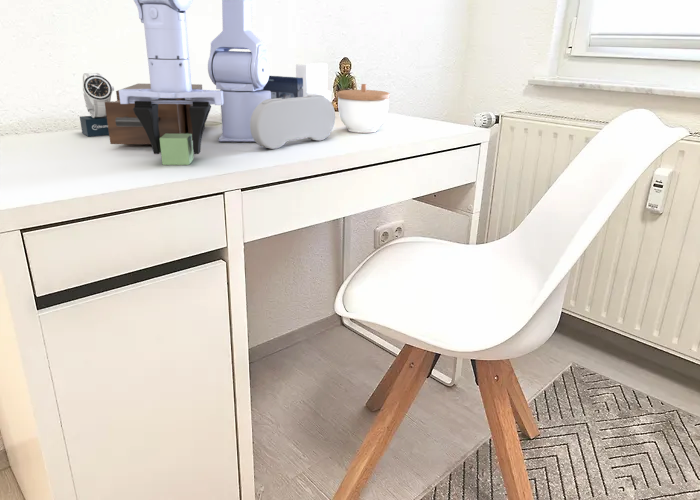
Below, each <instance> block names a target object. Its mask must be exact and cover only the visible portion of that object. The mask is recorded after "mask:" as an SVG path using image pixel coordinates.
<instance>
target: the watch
mask: <svg viewBox="0 0 700 500" xmlns="http://www.w3.org/2000/svg"><path fill="white" fill-rule="evenodd" d="M82 91H83V93H82V94H83V98H84V103H85V108H86V110H87V112H88V114H89V115H84V116H83V115H82V116H81V115H80V116H79V120H80V121H79V122H80V129H81V134H82V135H84V136H86V137H87V138H90V137H100V136H101V137H102V136H109V130H108V123H107V116H106V109H105V102H107V101H111V99H112V94H113V92H114V91H115V87H114V86H112V83H110V81H109V79H107V78H106V77H104V76H103V74H100V73H98V72H86V73H83V74H82Z"/></svg>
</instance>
